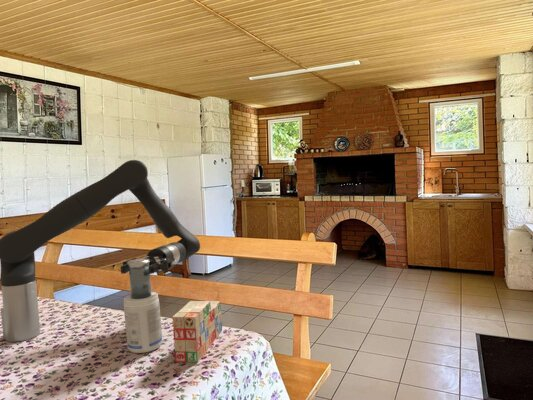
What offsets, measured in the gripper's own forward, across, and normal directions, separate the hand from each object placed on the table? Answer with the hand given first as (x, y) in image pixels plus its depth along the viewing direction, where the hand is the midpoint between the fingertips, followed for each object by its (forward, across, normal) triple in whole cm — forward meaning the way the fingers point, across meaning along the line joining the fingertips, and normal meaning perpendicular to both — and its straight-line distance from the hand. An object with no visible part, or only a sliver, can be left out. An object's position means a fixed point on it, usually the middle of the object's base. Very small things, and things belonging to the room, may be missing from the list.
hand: (135, 270), depth 108 cm
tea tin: (-2, 0, +8) cm, 8 cm away
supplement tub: (-2, 0, +23) cm, 23 cm away
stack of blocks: (-5, +16, +23) cm, 28 cm away
